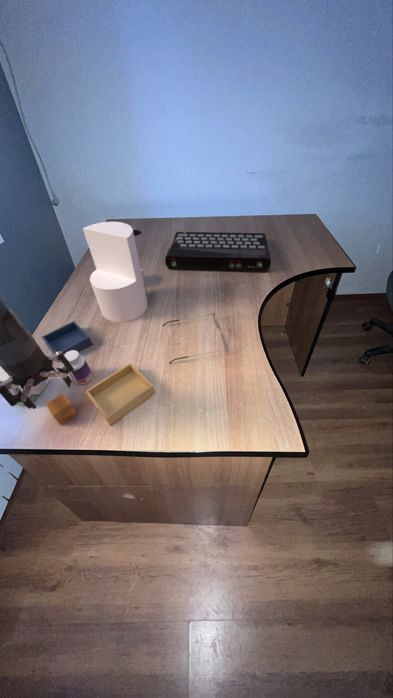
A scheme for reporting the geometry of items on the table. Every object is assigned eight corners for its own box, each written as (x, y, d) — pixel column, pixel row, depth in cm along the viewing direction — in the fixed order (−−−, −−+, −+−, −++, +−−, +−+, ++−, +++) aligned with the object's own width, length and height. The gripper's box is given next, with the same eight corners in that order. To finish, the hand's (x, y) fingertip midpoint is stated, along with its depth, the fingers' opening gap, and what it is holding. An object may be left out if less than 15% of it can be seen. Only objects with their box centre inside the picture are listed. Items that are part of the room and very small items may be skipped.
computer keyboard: (264, 243, 132) (266, 230, 128) (269, 273, 113) (271, 258, 109) (176, 241, 137) (174, 228, 132) (166, 270, 118) (164, 256, 113)
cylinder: (121, 289, 108) (101, 218, 88) (156, 300, 102) (144, 227, 82) (91, 314, 98) (61, 239, 77) (129, 327, 92) (106, 251, 72)
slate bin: (60, 362, 82) (55, 355, 79) (46, 344, 88) (41, 336, 85) (92, 344, 87) (89, 337, 84) (77, 328, 93) (74, 320, 90)
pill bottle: (96, 372, 79) (85, 350, 72) (86, 386, 75) (73, 364, 68) (80, 368, 80) (68, 346, 73) (70, 382, 76) (56, 361, 69)
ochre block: (60, 425, 67) (52, 415, 64) (53, 413, 70) (45, 403, 66) (77, 414, 69) (70, 404, 66) (70, 403, 72) (62, 393, 68)
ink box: (29, 408, 71) (4, 382, 63) (14, 403, 72) (-12, 377, 64) (49, 383, 77) (29, 356, 68) (35, 379, 78) (14, 352, 69)
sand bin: (110, 425, 67) (106, 418, 64) (89, 398, 73) (85, 391, 70) (155, 392, 73) (153, 385, 71) (132, 370, 79) (130, 362, 77)
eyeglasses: (229, 354, 82) (229, 345, 79) (169, 365, 81) (167, 356, 78) (214, 317, 95) (214, 308, 92) (162, 326, 93) (160, 318, 90)
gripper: (43, 322, 56) (72, 369, 68) (-31, 358, 50) (15, 403, 62) (58, 340, 53) (86, 387, 65) (-20, 381, 46) (27, 424, 58)
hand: (51, 395), depth 63 cm, fingers open, 8 cm apart
